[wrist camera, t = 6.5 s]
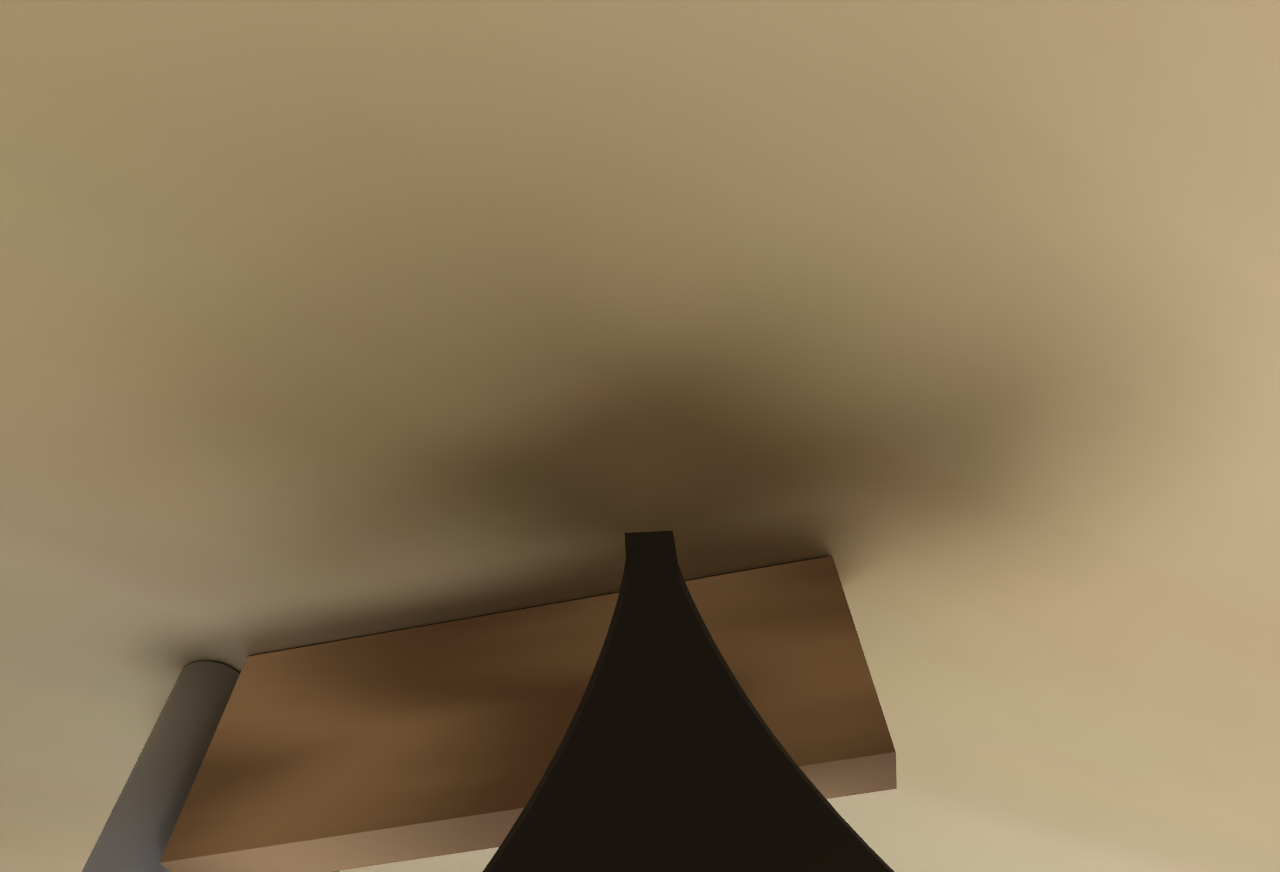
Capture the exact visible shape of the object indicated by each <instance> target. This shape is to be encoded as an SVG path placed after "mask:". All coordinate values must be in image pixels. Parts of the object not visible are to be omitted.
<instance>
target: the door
mask: <svg viewBox="0 0 1280 872" xmlns="http://www.w3.org/2000/svg"><path fill="white" fill-rule="evenodd" d="M685 583H686V585H687V587H688V590H689V592H690V594H691V597H692V599H693V601H694V603H695V605H696V607H697V609H698V611H699V613H700V615H701V617H702V619H703V621H704V623H705V625H706V627H707V629H708V630H709V632H710V634H711V636H712V638H713V640H714V642H715V644H716V645H717V647H718V649H719V651H720V653H721V654H722V656H723V658H724V660H725V661H726V663H727V664H728V666H729V668H730V669H731V671H732V673H733V674H734V676H735V678H736V679H737V681H738V683H739V684H740V686H741V687H742V689H743V690H744V692H745V694H746V695H747V697H748V698H749V700H750V701H751V703H752V704H753V706H754V707H755V709H756V710H757V711H758V713H759V714H760V716H761V717H762V718H763V720H764V721H765V723H766V724H767V726H768V727H769V728H770V730H771V731H772V733H773V734H774V735H775V737H776V738H777V739H778V741H779V742H780V743H781V744H782V746H783V747H784V748H785V750H786V751H787V752H788V754H789V755H790V756H791V758H792V759H793V760H794V761H795V763H796V764H797V765H798V766H799V768H800V769H801V770H802V771H803V772H804V773H805V775H806V776H807V777H808V778H809V779H810V781H811V782H812V783H813V784H814V785H815V786H816V788H817V789H818V790H819V791H820V792H821V794H822V795H823V796H824V797H825V798H826V799H828V798H835V797H842V796H849V795H856V794H862V793H869V792H876V791H883V790H890V789H897V786H896V752H895V749H894V746H893V743H892V739H891V736H890V733H889V730H888V727H887V724H886V721H885V718H884V715H883V712H882V709H881V705H880V702H879V699H878V696H877V693H876V690H875V687H874V684H873V681H872V678H871V675H870V672H869V668H868V665H867V662H866V659H865V656H864V653H863V650H862V647H861V644H860V641H859V638H858V634H857V631H856V628H855V625H854V622H853V619H852V616H851V613H850V610H849V607H848V604H847V600H846V597H845V594H844V591H843V588H842V585H841V582H840V579H839V576H838V573H837V570H836V566H835V563H834V560H833V557H832V556H829V557H823V558H817V559H811V560H805V561H800V562H794V563H788V564H782V565H776V566H771V567H765V568H759V569H753V570H747V571H742V572H736V573H730V574H724V575H718V576H713V577H707V578H701V579H695V580H689V581H685ZM618 596H619V593H614V594H608V595H602V596H596V597H591V598H585V599H579V600H573V601H567V602H562V603H556V604H550V605H544V606H538V607H533V608H527V609H521V610H515V611H509V612H504V613H498V614H492V615H486V616H480V617H475V618H469V619H463V620H457V621H451V622H446V623H440V624H434V625H428V626H422V627H417V628H411V629H405V630H399V631H393V632H388V633H382V634H376V635H370V636H364V637H359V638H353V639H347V640H341V641H335V642H330V643H324V644H318V645H312V646H306V647H301V648H295V649H289V650H283V651H277V652H272V653H266V654H260V655H254V656H248V657H247V659H246V661H245V663H244V666H243V668H242V670H241V673H240V675H239V677H238V680H237V682H236V684H235V687H234V689H233V691H232V694H231V696H230V698H229V701H228V703H227V705H226V708H225V710H224V713H223V715H222V717H221V720H220V722H219V724H218V727H217V729H216V731H215V734H214V736H213V738H212V741H211V743H210V745H209V748H208V750H207V752H206V755H205V757H204V759H203V762H202V764H201V766H200V769H199V771H198V774H197V776H196V778H195V781H194V783H193V785H192V788H191V790H190V792H189V795H188V797H187V799H186V802H185V804H184V806H183V809H182V811H181V813H180V816H179V818H178V820H177V823H176V825H175V827H174V830H173V832H172V835H171V837H170V839H169V842H168V844H167V846H166V849H165V851H164V853H163V856H162V858H161V860H160V864H161V865H163V866H164V867H165V868H166V869H167V870H168V871H169V872H331V871H338V870H345V869H352V868H358V867H365V866H372V865H379V864H386V863H392V862H399V861H406V860H413V859H420V858H426V857H433V856H440V855H447V854H454V853H461V852H467V851H474V850H481V849H488V848H495V847H500V845H501V844H502V842H503V841H504V839H505V838H506V836H507V834H508V833H509V831H510V830H511V828H512V827H513V825H514V823H515V822H516V820H517V819H518V817H519V815H520V814H521V812H522V811H523V809H524V808H525V806H526V804H527V803H528V801H529V800H530V798H531V796H532V794H533V793H534V791H535V789H536V788H537V786H538V784H539V782H540V781H541V779H542V777H543V775H544V773H545V771H546V770H547V768H548V766H549V764H550V762H551V760H552V758H553V757H554V755H555V753H556V751H557V749H558V747H559V745H560V743H561V741H562V740H563V738H564V735H565V733H566V731H567V729H568V727H569V725H570V723H571V721H572V719H573V717H574V715H575V713H576V710H577V708H578V706H579V704H580V702H581V699H582V697H583V695H584V692H585V690H586V688H587V685H588V683H589V680H590V678H591V675H592V673H593V670H594V668H595V665H596V662H597V660H598V657H599V655H600V652H601V650H602V647H603V644H604V641H605V638H606V636H607V632H608V629H609V626H610V623H611V619H612V616H613V613H614V610H615V606H616V603H617V600H618Z"/></svg>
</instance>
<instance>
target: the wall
mask: <svg viewBox="0 0 1280 872" xmlns="http://www.w3.org/2000/svg"><path fill="white" fill-rule="evenodd" d="M239 675H240V674H239V673H238V672H237V671H235V670H234V669H232V668H231V667H229V666H226V665H224V664H221V663H217V662H211V661H199V662H194V663H191V664H189V665H187V666H185V667H184V668H183V670H182V672H181V674H180V676H179V678H178V680H177V682H176V684H175V686H174V688H173V690H172V692H171V694H170V696H169V698H168V700H167V702H166V704H165V706H164V708H163V710H162V712H161V714H160V716H159V718H158V720H157V722H156V724H155V726H154V728H153V730H152V732H151V734H150V736H149V738H148V740H147V742H146V744H145V746H144V748H143V750H142V752H141V754H140V756H139V758H138V760H137V762H136V764H135V766H134V768H133V770H132V772H131V774H130V776H129V778H128V780H127V782H126V784H125V786H124V788H123V790H122V792H121V794H120V796H119V798H118V800H117V802H116V804H115V806H114V808H113V810H112V812H111V814H110V816H109V818H108V820H107V822H106V824H105V826H104V828H103V830H102V832H101V834H100V836H99V838H98V841H97V843H96V845H95V847H94V849H93V851H92V853H91V855H90V857H89V859H88V861H87V863H86V865H85V867H84V869H83V871H82V872H169V871H168V870H167V869H166V868H165V867H164V866H163V865H161V864H160V860H161V858H162V856H163V853H164V851H165V849H166V846H167V844H168V842H169V839H170V837H171V835H172V832H173V830H174V827H175V825H176V823H177V820H178V818H179V816H180V813H181V811H182V809H183V806H184V804H185V802H186V799H187V797H188V795H189V792H190V790H191V788H192V785H193V783H194V781H195V778H196V776H197V774H198V771H199V769H200V766H201V764H202V762H203V759H204V757H205V755H206V752H207V750H208V748H209V745H210V743H211V741H212V738H213V736H214V734H215V731H216V729H217V727H218V724H219V722H220V720H221V717H222V715H223V713H224V710H225V708H226V705H227V703H228V701H229V698H230V696H231V694H232V691H233V689H234V687H235V684H236V682H237V680H238V677H239ZM331 872H339V870H338V871H331Z"/></svg>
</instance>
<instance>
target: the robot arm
mask: <svg viewBox="0 0 1280 872" xmlns="http://www.w3.org/2000/svg"><path fill="white" fill-rule="evenodd" d="M625 549H626V563H625V569H624V574H623V579H622V583H621V587H620V592H619V596H618V600H617V603H616V606H615V610H614V613H613V616H612V619H611V623H610V626H609V629H608V632H607V636H606V638H605V641H604V644H603V647H602V650H601V652H600V655H599V657H598V660H597V662H596V665H595V668H594V670H593V673H592V675H591V678H590V680H589V683H588V685H587V688H586V690H585V692H584V695H583V697H582V699H581V702H580V704H579V706H578V708H577V710H576V713H575V715H574V717H573V719H572V721H571V723H570V725H569V727H568V729H567V731H566V733H565V735H564V738H563V740H562V741H561V743H560V745H559V747H558V749H557V751H556V753H555V755H554V757H553V758H552V760H551V762H550V764H549V766H548V768H547V770H546V771H545V773H544V775H543V777H542V779H541V781H540V782H539V784H538V786H537V788H536V789H535V791H534V793H533V794H532V796H531V798H530V800H529V801H528V803H527V804H526V806H525V808H524V809H523V811H522V812H521V814H520V815H519V817H518V819H517V820H516V822H515V823H514V825H513V827H512V828H511V830H510V831H509V833H508V834H507V836H506V838H505V839H504V841H503V842H502V844H501V845H500V847H499V849H498V850H497V852H496V853H495V855H494V856H493V858H492V859H491V861H490V862H489V864H488V865H487V866H486V868H485V869H484V871H483V872H894V871H893V870H892V869H891V868H890V867H889V866H888V865H887V864H886V863H885V862H884V861H883V860H882V859H881V858H880V857H879V856H878V855H877V854H876V853H875V852H874V851H873V850H872V849H871V848H870V847H869V846H868V845H867V844H866V843H865V841H864V840H863V839H862V838H861V837H860V836H859V835H858V834H857V833H856V832H855V831H854V830H853V829H852V828H851V826H850V825H849V824H848V823H847V822H846V821H845V820H844V819H843V818H842V817H841V816H840V815H839V814H838V812H837V811H836V810H835V809H834V808H833V807H832V805H831V804H830V803H829V802H828V801H827V799H826V798H825V797H824V796H823V795H822V794H821V792H820V791H819V790H818V789H817V788H816V786H815V785H814V784H813V783H812V782H811V781H810V779H809V778H808V777H807V776H806V775H805V773H804V772H803V771H802V770H801V769H800V768H799V766H798V765H797V764H796V763H795V761H794V760H793V759H792V758H791V756H790V755H789V754H788V752H787V751H786V750H785V748H784V747H783V746H782V744H781V743H780V742H779V741H778V739H777V738H776V737H775V735H774V734H773V733H772V731H771V730H770V728H769V727H768V726H767V724H766V723H765V721H764V720H763V718H762V717H761V716H760V714H759V713H758V711H757V710H756V709H755V707H754V706H753V704H752V703H751V701H750V700H749V698H748V697H747V695H746V694H745V692H744V690H743V689H742V687H741V686H740V684H739V683H738V681H737V679H736V678H735V676H734V674H733V673H732V671H731V669H730V668H729V666H728V664H727V663H726V661H725V660H724V658H723V656H722V654H721V653H720V651H719V649H718V647H717V645H716V644H715V642H714V640H713V638H712V636H711V634H710V632H709V630H708V629H707V627H706V625H705V623H704V621H703V619H702V617H701V615H700V613H699V611H698V609H697V607H696V605H695V603H694V601H693V599H692V597H691V594H690V592H689V590H688V587H687V585H686V583H685V580H684V578H683V576H682V573H681V570H680V568H679V565H678V562H677V556H676V549H675V543H674V537H673V531H659V532H638V533H625Z"/></svg>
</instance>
